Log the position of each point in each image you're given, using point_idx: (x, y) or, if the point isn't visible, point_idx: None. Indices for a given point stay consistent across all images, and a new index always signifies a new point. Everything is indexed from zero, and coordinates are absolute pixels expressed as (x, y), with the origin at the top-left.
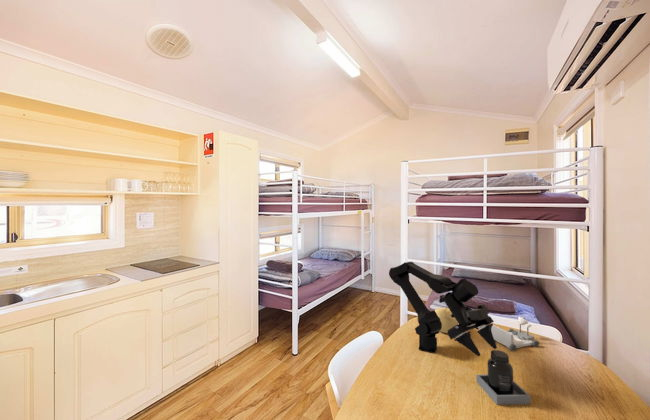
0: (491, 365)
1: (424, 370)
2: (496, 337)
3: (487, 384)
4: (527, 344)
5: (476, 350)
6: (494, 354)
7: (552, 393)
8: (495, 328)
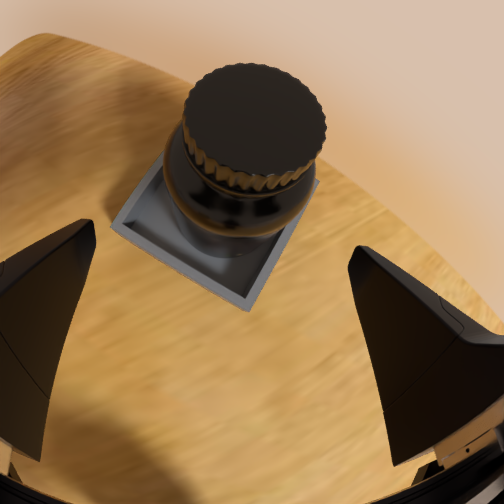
0: (313, 183)
1: (354, 451)
2: None
3: (278, 239)
4: None
5: (396, 266)
6: (313, 134)
7: (73, 118)
8: None
